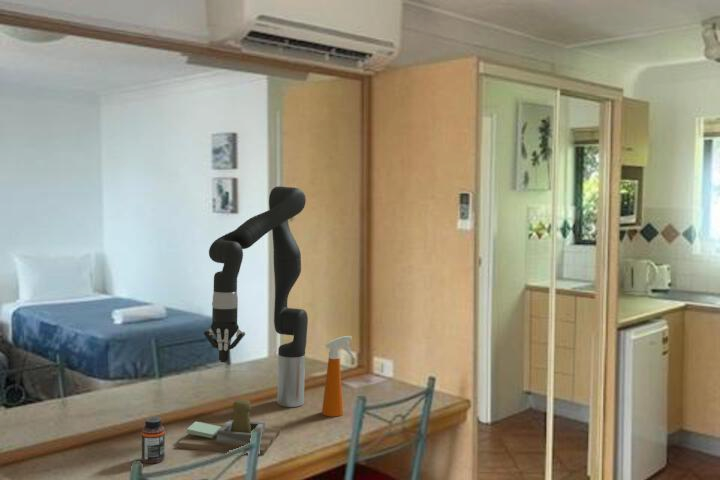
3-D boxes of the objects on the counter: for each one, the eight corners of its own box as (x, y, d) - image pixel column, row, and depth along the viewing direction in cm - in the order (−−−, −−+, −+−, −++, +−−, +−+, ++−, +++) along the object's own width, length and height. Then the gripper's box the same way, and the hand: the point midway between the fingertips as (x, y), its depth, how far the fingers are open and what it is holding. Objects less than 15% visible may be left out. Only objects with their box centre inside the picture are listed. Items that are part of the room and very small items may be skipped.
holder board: (201, 427, 218) (201, 412, 218) (279, 433, 215) (280, 418, 215) (178, 447, 201) (178, 432, 200) (263, 455, 197) (263, 439, 197)
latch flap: (195, 425, 212) (195, 421, 212) (222, 430, 211) (222, 426, 211) (186, 433, 205) (186, 429, 205) (214, 438, 204) (214, 434, 204)
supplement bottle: (144, 455, 194) (144, 415, 193) (166, 455, 194) (166, 415, 194) (139, 464, 188) (139, 422, 187) (162, 464, 188) (162, 422, 188)
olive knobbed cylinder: (247, 441, 203) (248, 404, 202) (227, 439, 204) (228, 402, 203) (254, 435, 209) (255, 398, 208) (235, 432, 210) (236, 396, 209)
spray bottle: (354, 417, 233) (357, 338, 231) (322, 416, 232) (324, 337, 230) (353, 410, 240) (355, 333, 238) (321, 410, 239) (323, 333, 237)
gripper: (249, 305, 218) (248, 360, 219) (208, 302, 219) (207, 357, 221) (242, 309, 210) (241, 366, 211) (199, 306, 212) (198, 363, 213)
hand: (224, 361), depth 216 cm, fingers closed
